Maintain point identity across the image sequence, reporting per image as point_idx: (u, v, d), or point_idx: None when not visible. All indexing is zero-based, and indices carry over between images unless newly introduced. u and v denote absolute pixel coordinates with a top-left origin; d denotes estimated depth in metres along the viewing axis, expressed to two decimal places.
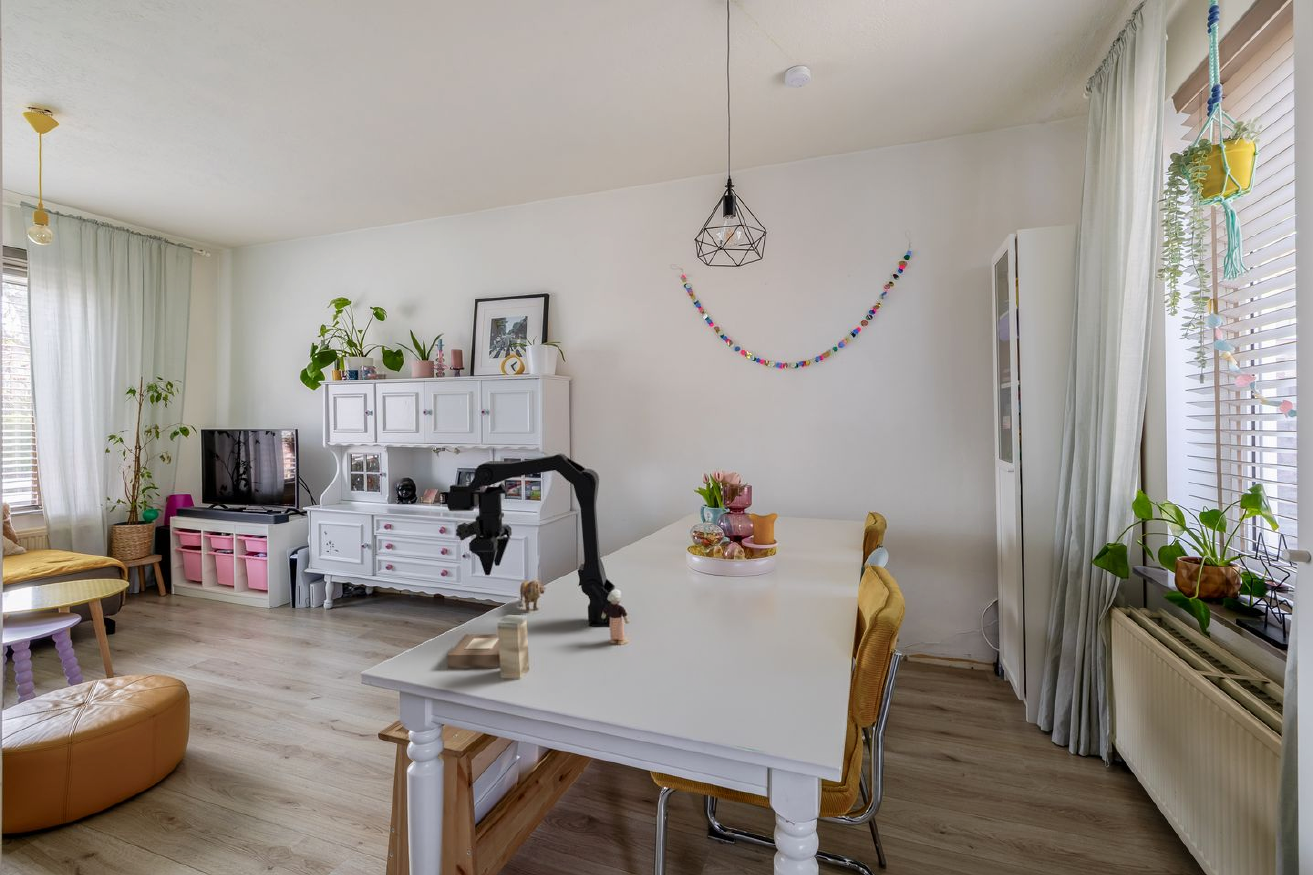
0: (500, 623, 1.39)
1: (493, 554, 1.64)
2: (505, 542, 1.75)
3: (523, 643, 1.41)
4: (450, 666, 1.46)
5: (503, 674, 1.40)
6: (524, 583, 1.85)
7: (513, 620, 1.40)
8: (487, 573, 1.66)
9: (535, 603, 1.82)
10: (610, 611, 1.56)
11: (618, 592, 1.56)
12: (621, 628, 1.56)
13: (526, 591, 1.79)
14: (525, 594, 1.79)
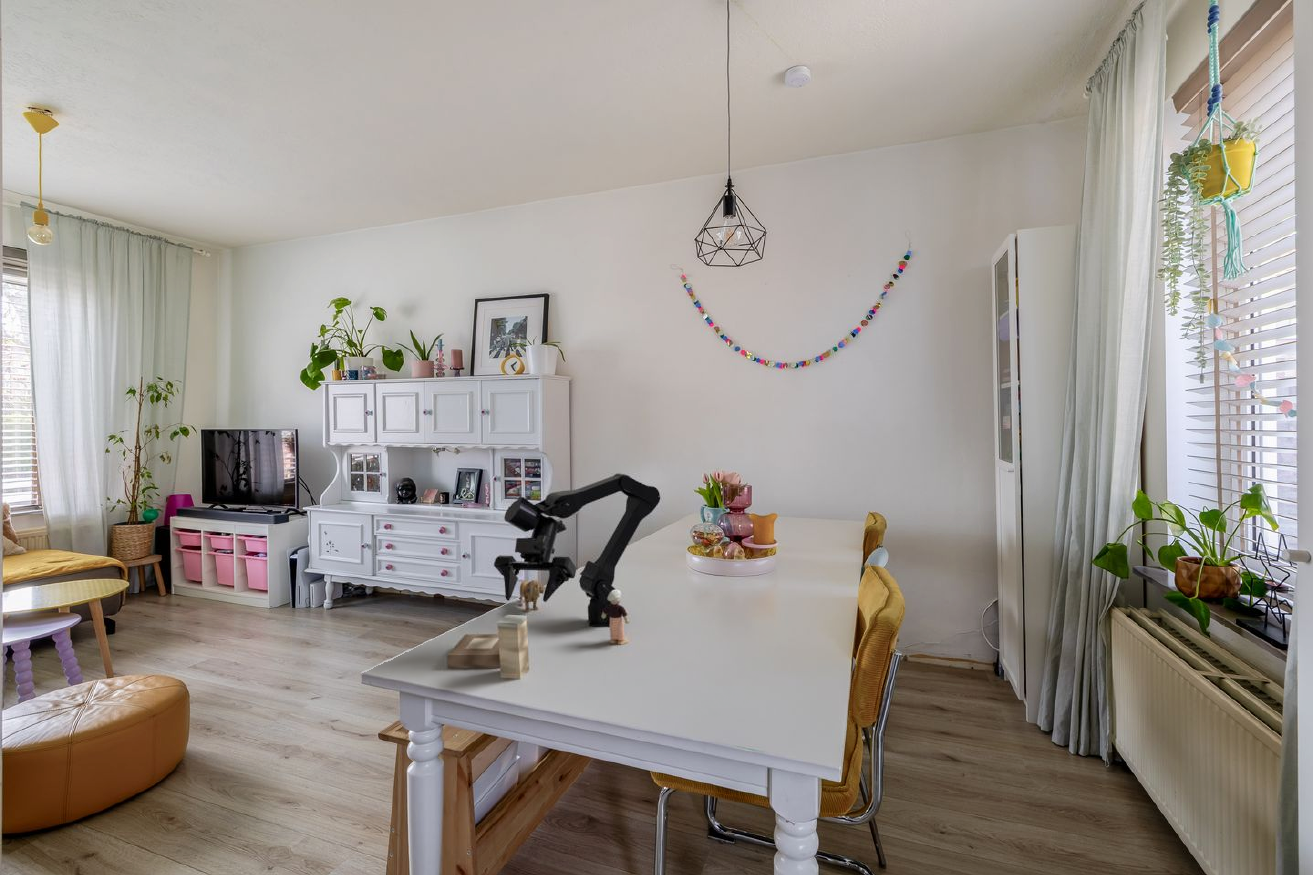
0: (500, 623, 1.39)
1: (561, 582, 1.53)
2: (516, 580, 1.56)
3: (523, 643, 1.41)
4: (450, 666, 1.46)
5: (503, 674, 1.40)
6: (524, 583, 1.86)
7: (513, 620, 1.40)
8: (546, 599, 1.48)
9: (535, 603, 1.82)
10: (610, 611, 1.56)
11: (618, 592, 1.56)
12: (621, 628, 1.56)
13: (526, 591, 1.79)
14: (525, 594, 1.79)
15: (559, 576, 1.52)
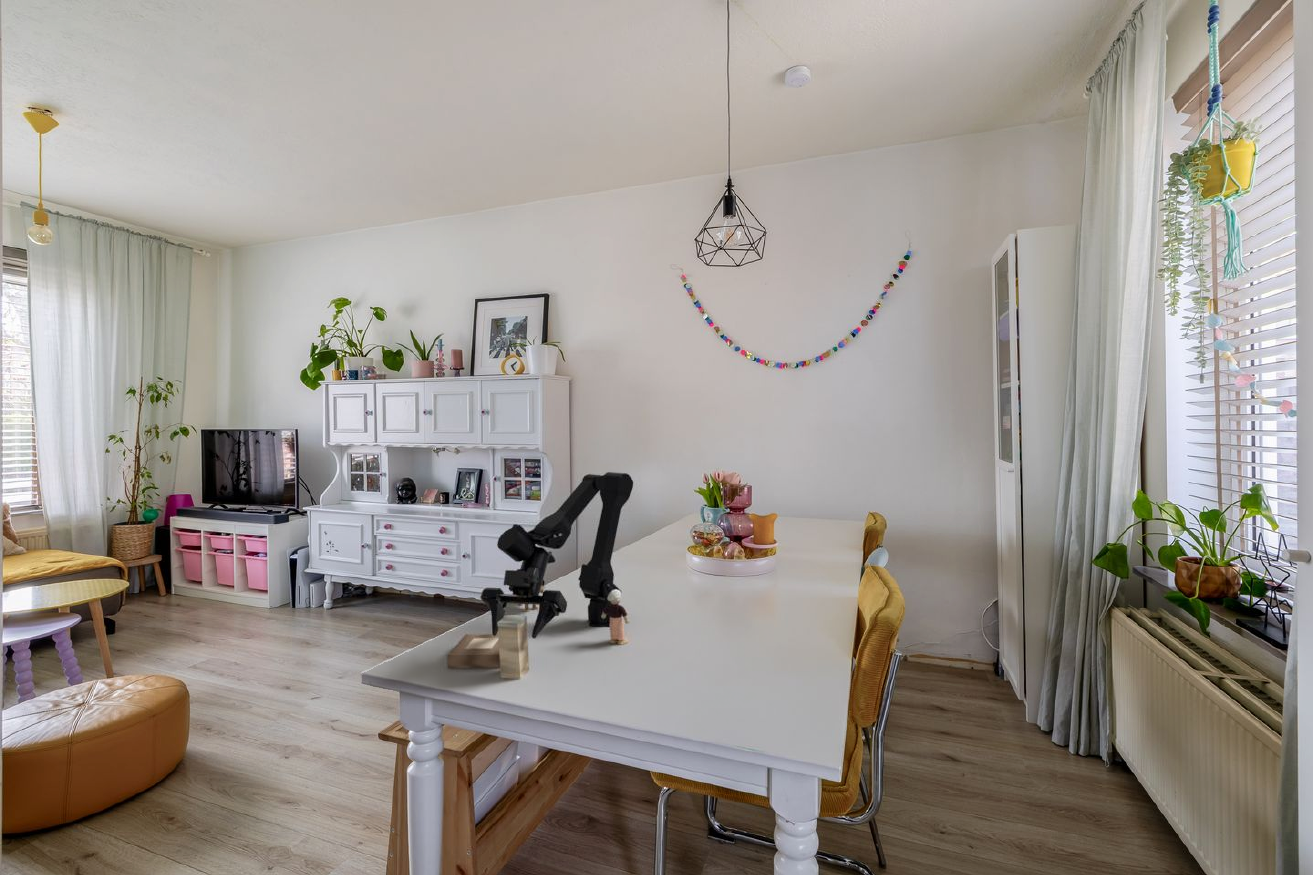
0: (500, 623, 1.39)
1: (551, 617, 1.45)
2: (503, 613, 1.48)
3: (523, 643, 1.41)
4: (450, 666, 1.46)
5: (503, 674, 1.40)
6: None
7: (513, 620, 1.40)
8: (535, 635, 1.41)
9: None
10: (610, 611, 1.56)
11: (618, 592, 1.56)
12: (621, 628, 1.56)
13: None
14: None
15: (549, 611, 1.45)
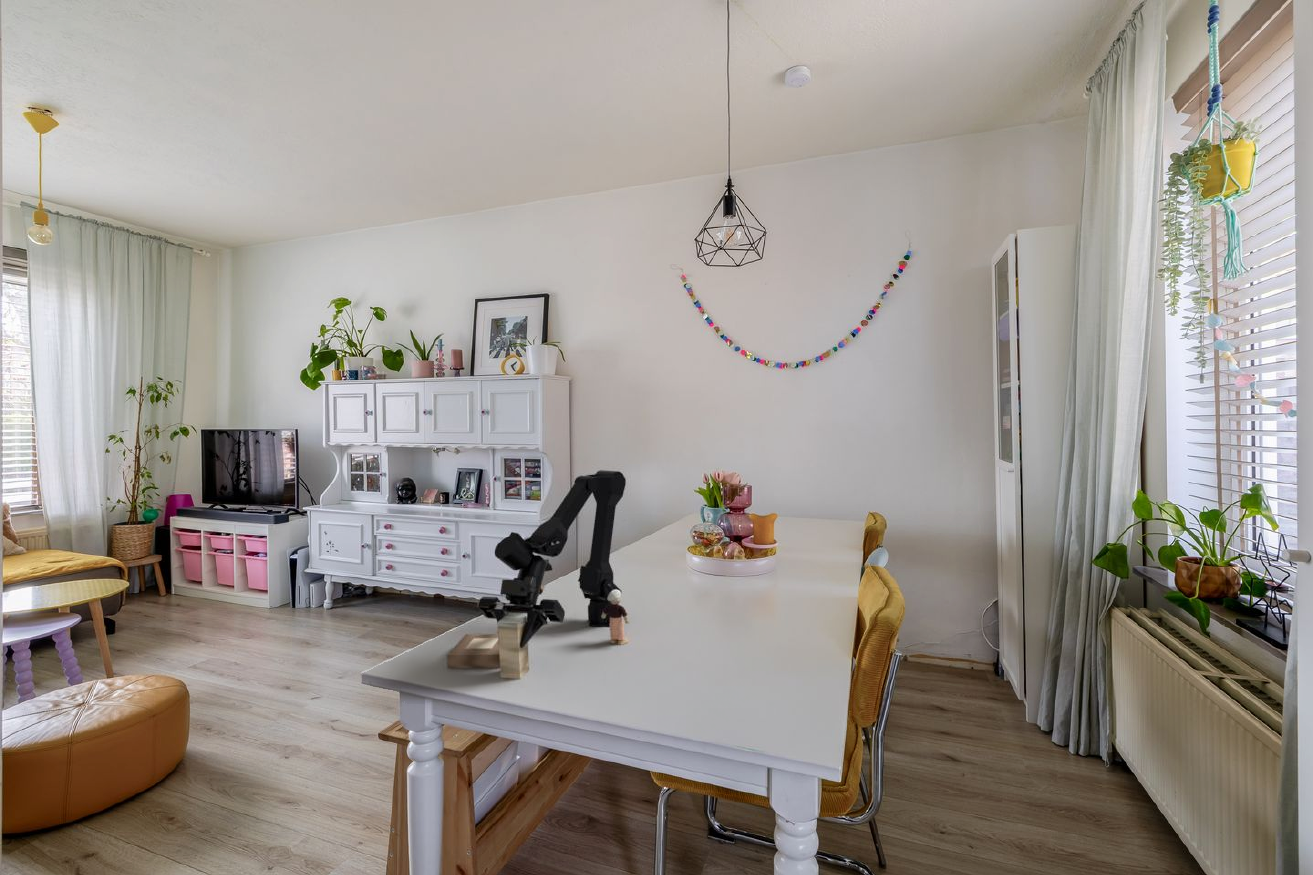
0: (500, 623, 1.39)
1: (540, 626, 1.44)
2: None
3: None
4: (450, 666, 1.46)
5: (503, 674, 1.40)
6: None
7: (513, 620, 1.40)
8: (523, 644, 1.40)
9: None
10: (610, 611, 1.56)
11: (618, 592, 1.56)
12: (621, 628, 1.56)
13: None
14: None
15: (537, 620, 1.43)
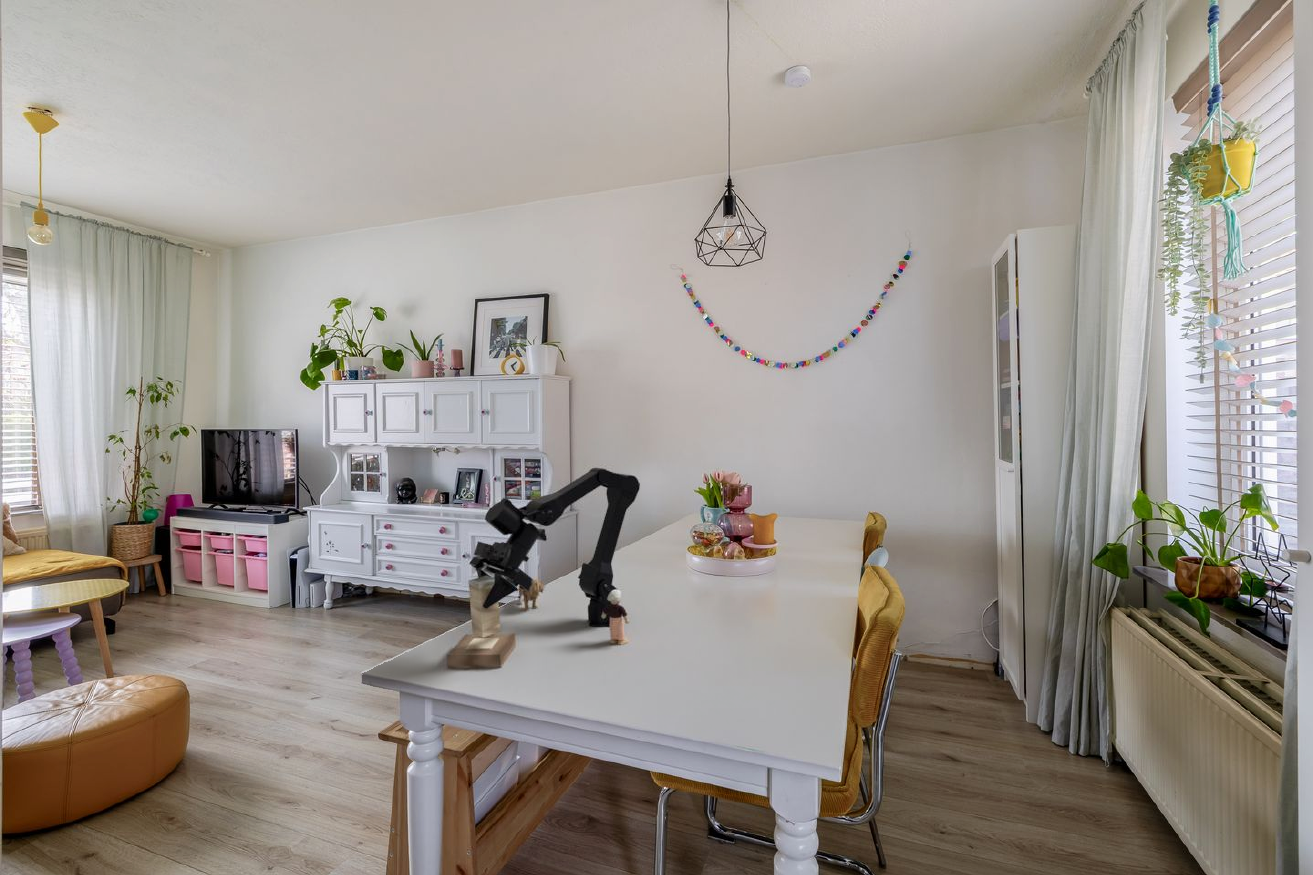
0: (469, 582, 1.47)
1: (510, 591, 1.48)
2: None
3: None
4: (450, 666, 1.46)
5: (473, 630, 1.48)
6: None
7: (481, 581, 1.47)
8: (486, 606, 1.46)
9: (534, 601, 1.83)
10: (610, 611, 1.56)
11: (618, 592, 1.56)
12: (621, 628, 1.56)
13: (525, 590, 1.80)
14: (524, 593, 1.81)
15: (507, 585, 1.47)
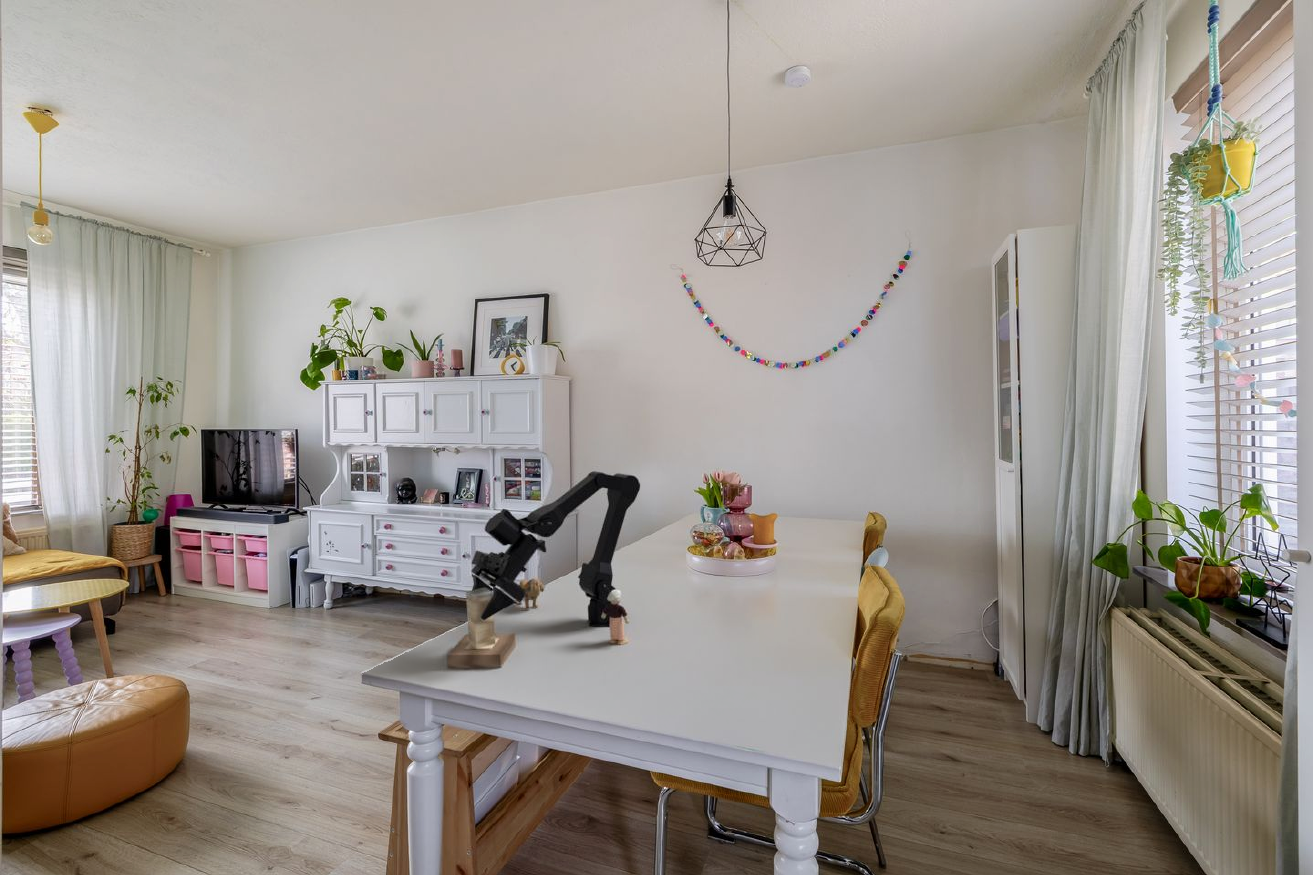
0: (466, 593, 1.50)
1: (509, 604, 1.48)
2: None
3: None
4: (450, 666, 1.46)
5: (469, 640, 1.51)
6: (523, 581, 1.87)
7: (476, 593, 1.49)
8: (484, 617, 1.46)
9: (534, 601, 1.84)
10: (610, 611, 1.56)
11: (618, 592, 1.56)
12: (621, 628, 1.56)
13: (526, 589, 1.81)
14: (525, 592, 1.81)
15: (505, 597, 1.47)
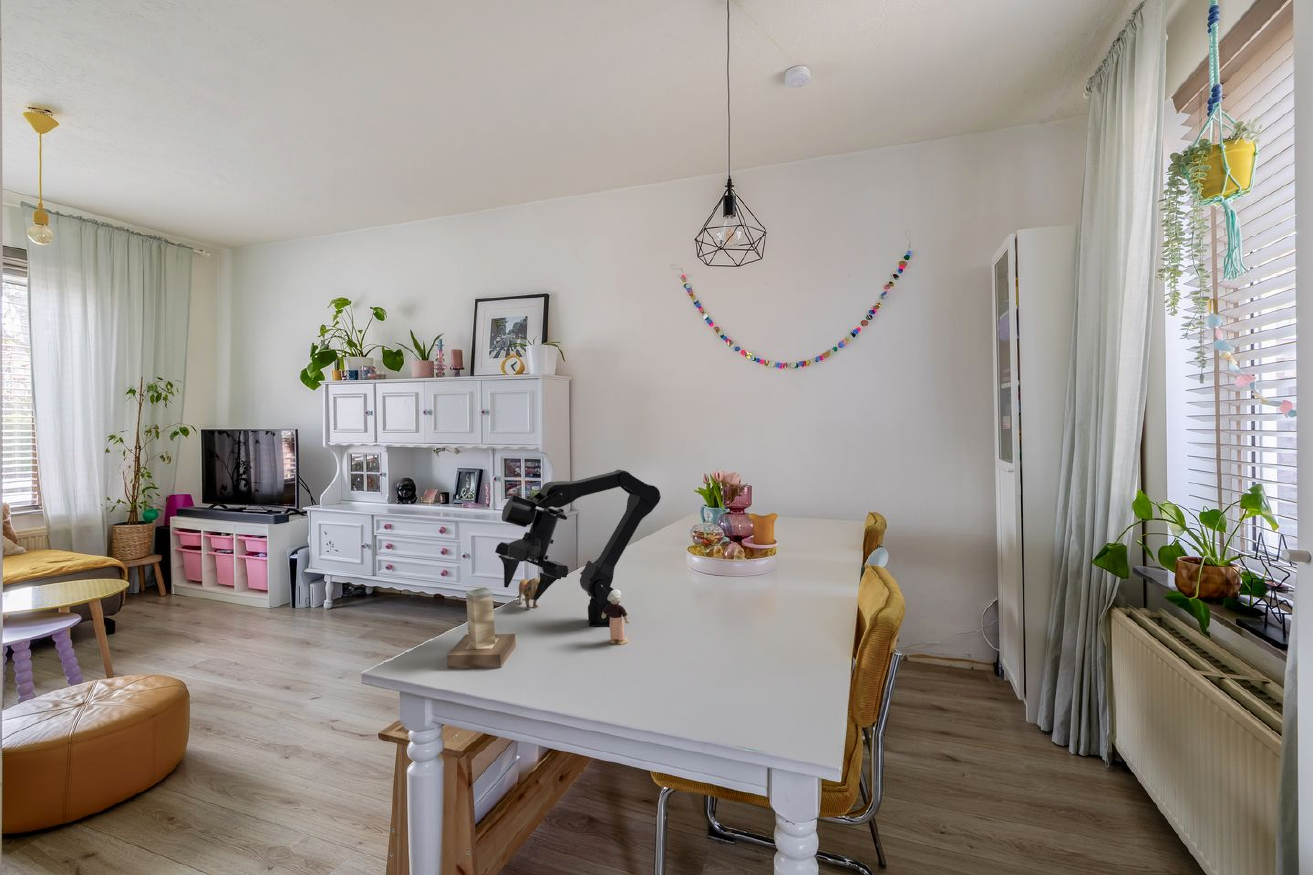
0: (466, 593, 1.50)
1: (554, 580, 1.60)
2: (518, 563, 1.65)
3: (484, 616, 1.49)
4: (450, 666, 1.46)
5: (469, 640, 1.51)
6: (523, 581, 1.87)
7: (476, 593, 1.49)
8: (537, 598, 1.58)
9: (535, 601, 1.84)
10: (610, 611, 1.56)
11: (618, 592, 1.56)
12: (621, 628, 1.56)
13: (527, 589, 1.81)
14: (526, 592, 1.81)
15: None
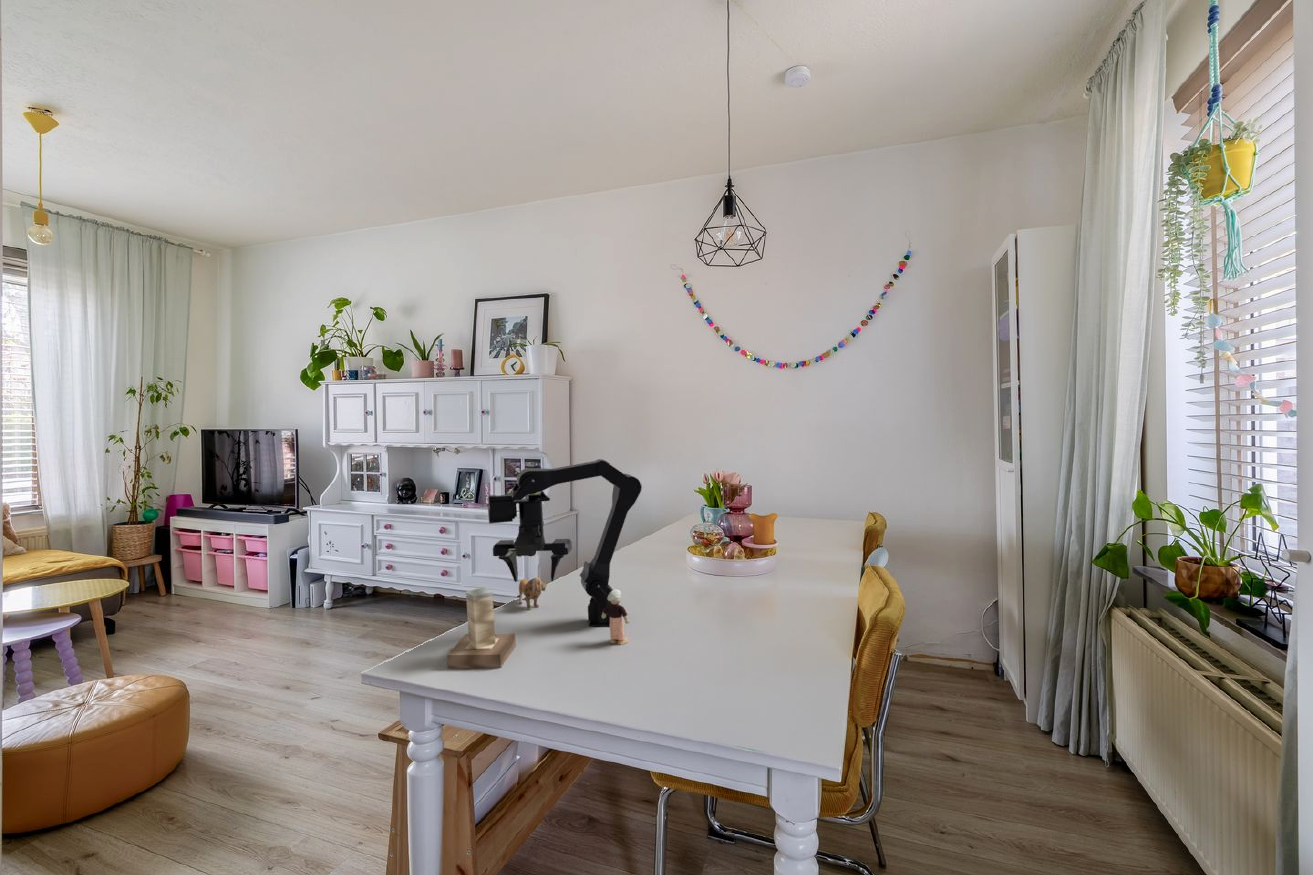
0: (466, 593, 1.50)
1: None
2: (515, 555, 1.67)
3: (484, 616, 1.49)
4: (450, 666, 1.46)
5: (469, 640, 1.51)
6: (523, 581, 1.87)
7: (476, 593, 1.49)
8: (553, 578, 1.65)
9: (536, 600, 1.84)
10: (610, 611, 1.56)
11: (618, 592, 1.56)
12: (621, 628, 1.56)
13: (528, 588, 1.81)
14: (526, 591, 1.81)
15: None
